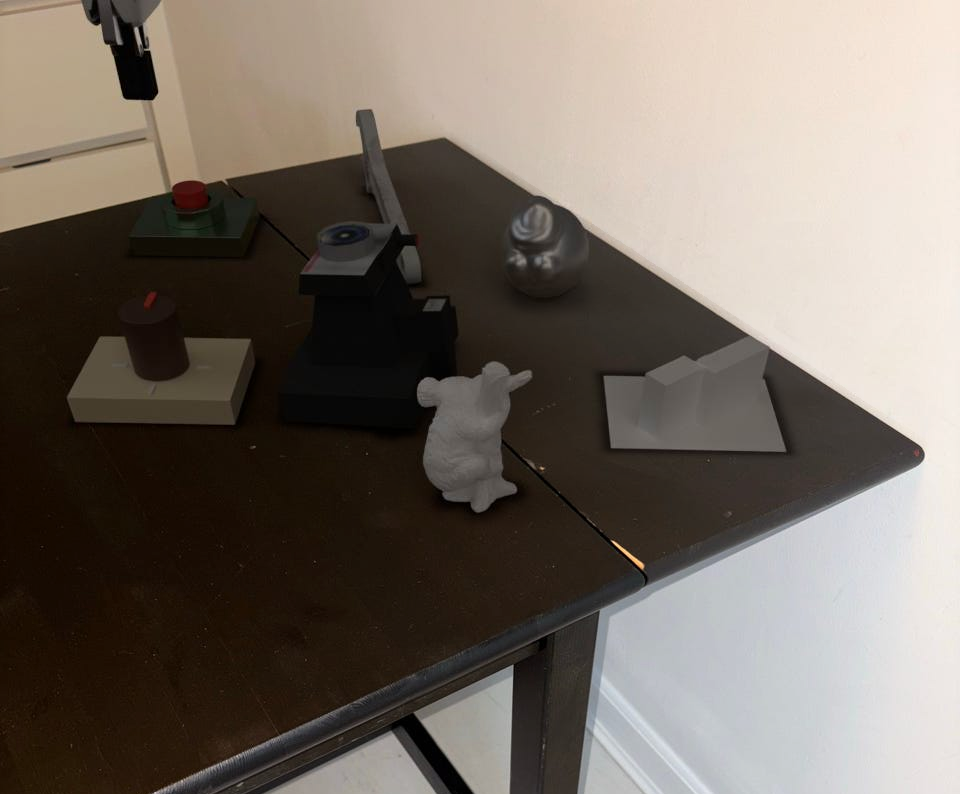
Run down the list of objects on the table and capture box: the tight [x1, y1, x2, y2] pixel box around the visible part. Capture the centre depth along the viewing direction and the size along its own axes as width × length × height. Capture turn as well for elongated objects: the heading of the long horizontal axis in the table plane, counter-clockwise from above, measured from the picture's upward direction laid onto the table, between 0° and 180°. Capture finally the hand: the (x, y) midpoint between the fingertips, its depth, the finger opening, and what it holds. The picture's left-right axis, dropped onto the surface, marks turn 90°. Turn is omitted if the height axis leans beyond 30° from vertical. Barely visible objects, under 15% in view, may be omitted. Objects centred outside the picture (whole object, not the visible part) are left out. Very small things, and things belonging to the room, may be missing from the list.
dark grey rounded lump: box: [500, 195, 590, 299], centre depth 98 cm, size 9×10×10 cm
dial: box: [117, 291, 190, 381], centre depth 85 cm, size 5×5×6 cm
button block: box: [128, 187, 261, 258], centre depth 109 cm, size 12×10×4 cm
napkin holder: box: [603, 335, 787, 453], centre depth 85 cm, size 15×11×6 cm
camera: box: [276, 220, 459, 429], centre depth 85 cm, size 16×14×15 cm
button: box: [171, 179, 209, 208], centre depth 107 cm, size 4×4×2 cm
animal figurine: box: [417, 361, 533, 514], centre depth 75 cm, size 8×7×12 cm
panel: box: [66, 336, 256, 426], centre depth 88 cm, size 14×10×3 cm
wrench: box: [355, 108, 422, 285], centre depth 110 cm, size 8×2×30 cm
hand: (141, 96), depth 98 cm, fingers closed
